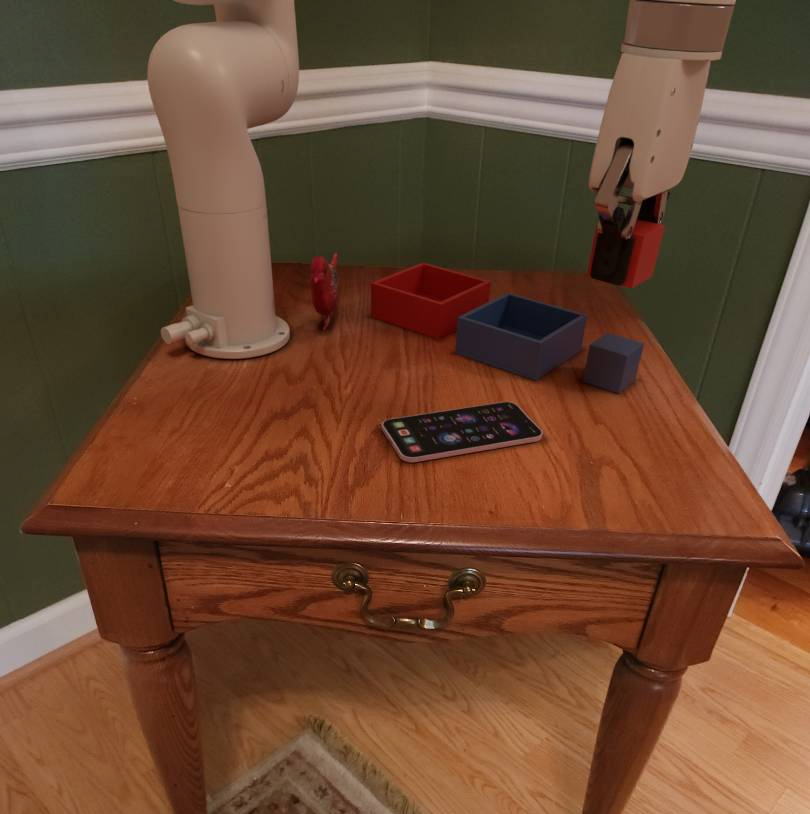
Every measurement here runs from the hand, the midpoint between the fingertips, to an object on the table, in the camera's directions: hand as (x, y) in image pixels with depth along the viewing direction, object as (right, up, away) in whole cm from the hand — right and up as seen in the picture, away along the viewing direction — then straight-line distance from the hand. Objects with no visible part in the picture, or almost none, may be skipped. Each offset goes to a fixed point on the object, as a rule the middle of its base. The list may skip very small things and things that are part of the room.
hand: (619, 272), depth 67 cm
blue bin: (-6, -2, +22) cm, 23 cm away
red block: (0, 0, 0) cm, 0 cm away
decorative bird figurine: (-30, +4, +29) cm, 41 cm away
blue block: (+4, -6, +17) cm, 18 cm away
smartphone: (-14, -14, +6) cm, 21 cm away
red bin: (-16, +5, +30) cm, 35 cm away
